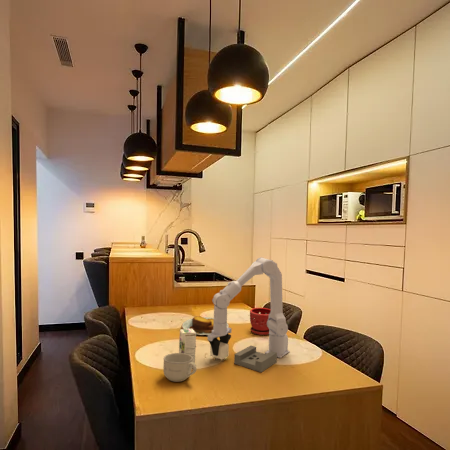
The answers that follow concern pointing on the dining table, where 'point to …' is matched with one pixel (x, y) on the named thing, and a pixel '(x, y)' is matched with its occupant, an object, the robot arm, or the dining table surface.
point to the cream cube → (221, 351)
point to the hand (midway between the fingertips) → (219, 353)
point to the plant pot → (259, 320)
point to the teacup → (178, 366)
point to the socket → (255, 359)
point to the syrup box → (187, 342)
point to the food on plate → (200, 325)
